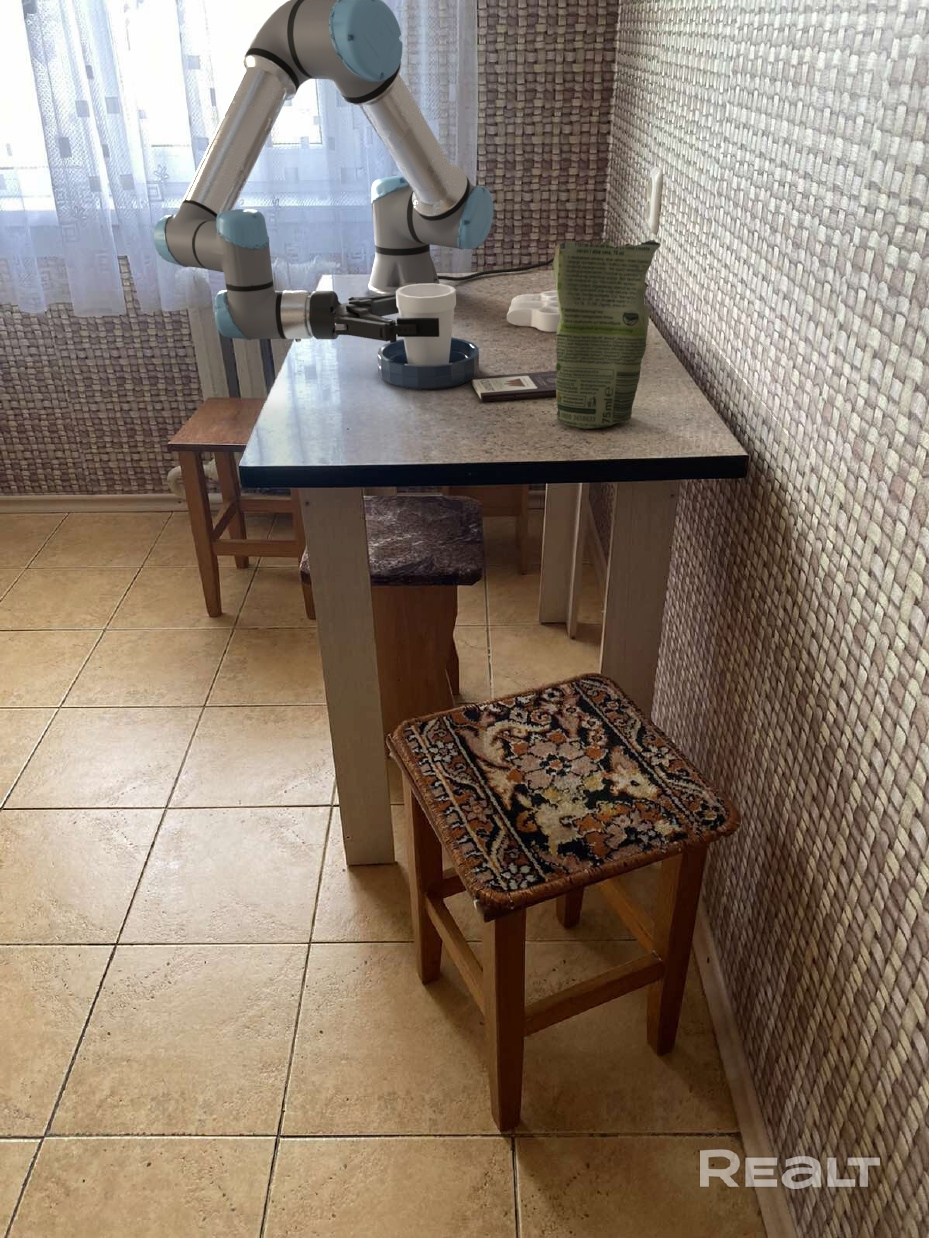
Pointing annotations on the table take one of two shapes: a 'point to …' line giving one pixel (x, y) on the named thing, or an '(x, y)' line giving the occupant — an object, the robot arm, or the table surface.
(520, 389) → the chocolate bar
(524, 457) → the table surface
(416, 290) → the foam cup
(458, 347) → the bowl
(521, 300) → the white brass knuckles
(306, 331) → the robot arm
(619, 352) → the pouch
